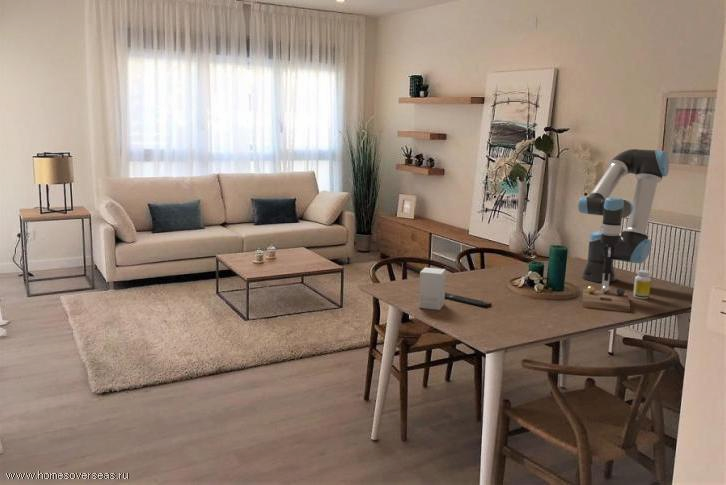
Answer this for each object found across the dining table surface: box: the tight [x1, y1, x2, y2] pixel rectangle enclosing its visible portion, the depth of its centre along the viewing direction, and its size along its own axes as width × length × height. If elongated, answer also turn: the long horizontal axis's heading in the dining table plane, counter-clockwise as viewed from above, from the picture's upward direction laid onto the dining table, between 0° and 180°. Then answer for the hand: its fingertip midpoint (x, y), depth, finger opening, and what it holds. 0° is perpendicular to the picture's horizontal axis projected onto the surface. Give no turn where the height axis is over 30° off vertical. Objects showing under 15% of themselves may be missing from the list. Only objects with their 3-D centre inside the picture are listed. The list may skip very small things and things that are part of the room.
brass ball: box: [586, 285, 596, 294], centre depth 273 cm, size 3×3×3 cm
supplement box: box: [418, 266, 447, 311], centre depth 258 cm, size 9×9×15 cm
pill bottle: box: [632, 269, 652, 300], centre depth 277 cm, size 6×6×12 cm
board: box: [581, 287, 631, 313], centre depth 269 cm, size 20×18×2 cm
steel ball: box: [601, 286, 611, 293], centre depth 274 cm, size 3×3×3 cm
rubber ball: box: [616, 287, 626, 295], centre depth 271 cm, size 3×3×3 cm
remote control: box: [445, 292, 493, 309], centre depth 267 cm, size 5×24×1 cm, turn 51°
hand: (605, 287), depth 277 cm, fingers closed
